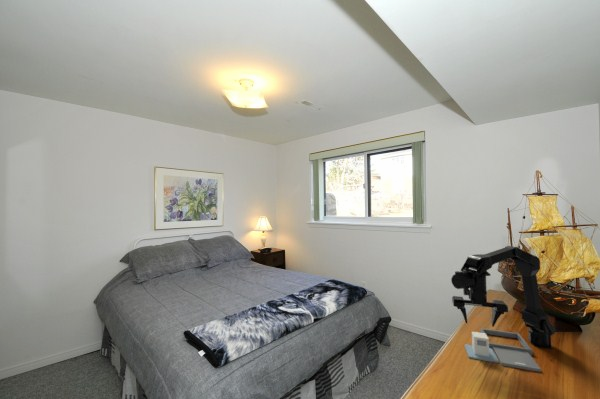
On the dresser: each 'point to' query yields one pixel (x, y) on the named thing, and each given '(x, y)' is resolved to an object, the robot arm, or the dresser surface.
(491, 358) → the mat
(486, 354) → the block
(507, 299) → the dresser surface
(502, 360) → the grey open frame
